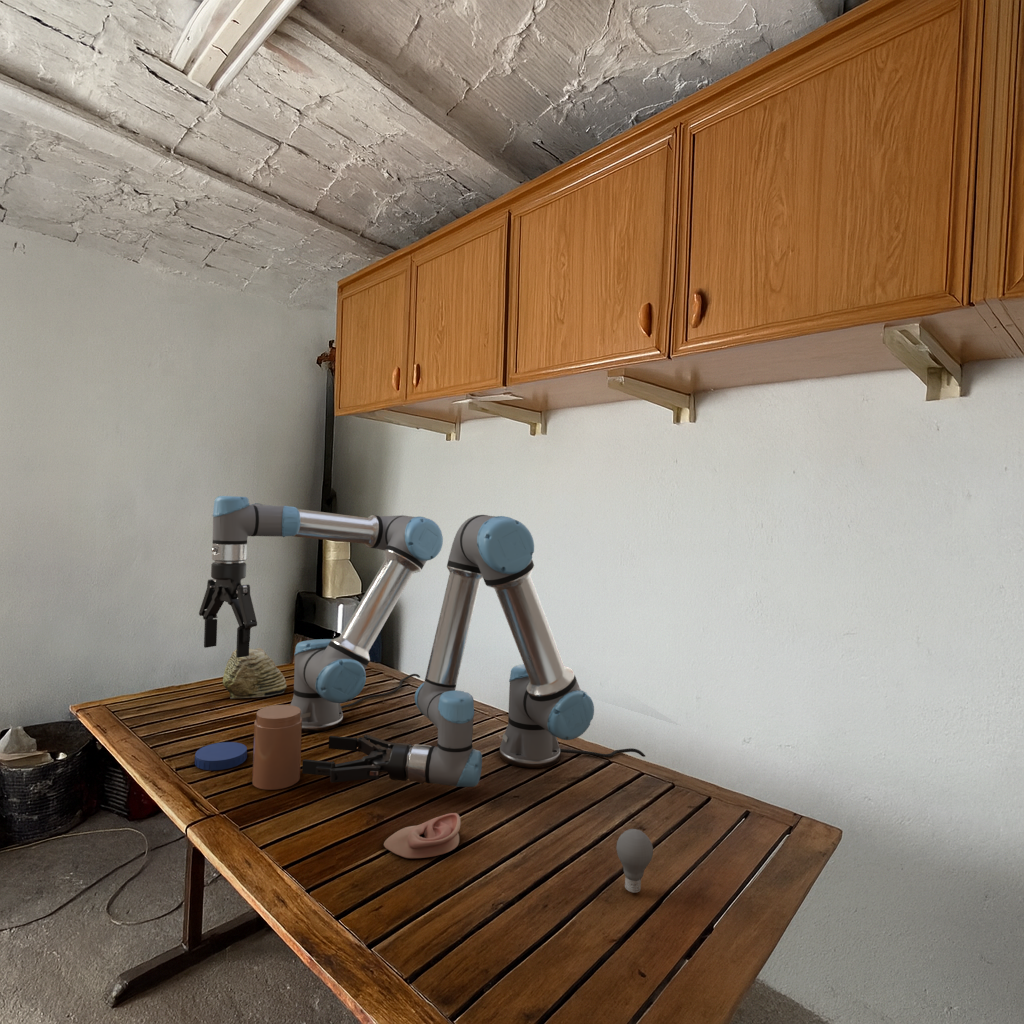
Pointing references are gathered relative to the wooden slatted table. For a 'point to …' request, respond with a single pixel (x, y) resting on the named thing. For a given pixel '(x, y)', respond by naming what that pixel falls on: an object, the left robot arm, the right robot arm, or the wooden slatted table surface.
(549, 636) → the right robot arm
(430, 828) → the anatomical model
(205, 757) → the lid
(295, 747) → the jar
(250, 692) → the fossil
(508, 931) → the wooden slatted table surface
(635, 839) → the light bulb
